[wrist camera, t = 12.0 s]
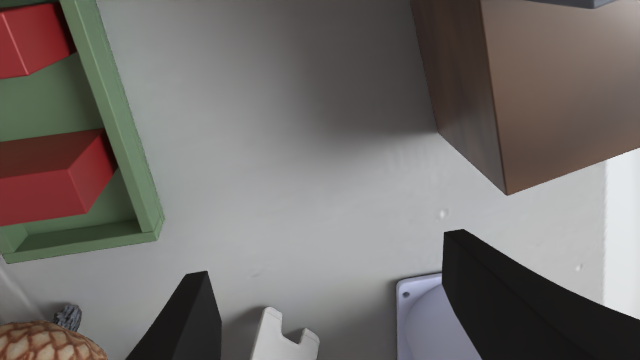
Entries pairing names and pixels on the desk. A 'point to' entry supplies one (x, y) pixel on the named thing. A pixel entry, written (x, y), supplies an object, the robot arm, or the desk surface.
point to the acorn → (48, 339)
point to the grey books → (576, 3)
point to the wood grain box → (532, 84)
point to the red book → (53, 175)
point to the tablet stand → (281, 341)
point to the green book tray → (71, 116)
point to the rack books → (33, 38)
